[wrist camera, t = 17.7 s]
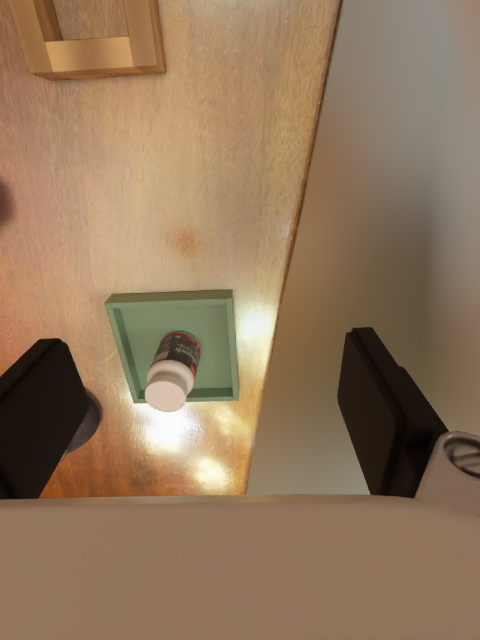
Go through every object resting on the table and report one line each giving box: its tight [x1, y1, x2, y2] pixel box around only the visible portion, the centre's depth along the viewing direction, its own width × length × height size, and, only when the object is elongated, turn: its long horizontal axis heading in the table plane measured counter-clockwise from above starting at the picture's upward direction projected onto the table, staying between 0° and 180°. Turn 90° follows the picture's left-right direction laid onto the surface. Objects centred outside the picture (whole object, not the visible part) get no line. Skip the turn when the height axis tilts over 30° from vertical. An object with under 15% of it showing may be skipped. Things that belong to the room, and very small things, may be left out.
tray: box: [105, 290, 239, 403], centre depth 43 cm, size 16×17×3 cm
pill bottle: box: [145, 332, 201, 412], centre depth 40 cm, size 6×6×10 cm
